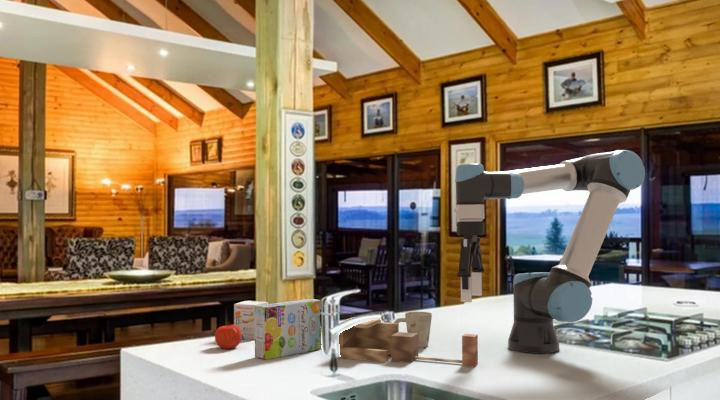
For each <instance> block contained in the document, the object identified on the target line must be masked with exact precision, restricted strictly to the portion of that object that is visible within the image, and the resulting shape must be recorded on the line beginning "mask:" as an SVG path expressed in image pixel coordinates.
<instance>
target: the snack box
mask: <svg viewBox="0 0 720 400" xmlns="http://www.w3.org/2000/svg"><path fill="white" fill-rule="evenodd" d="M320 310H321V311H322V300H320V299H315V298H309V299H308V298H307V299H300V300H292V301H291V300H290V301H283V302H276V303H268V304H266V305H258V306H255V307H254V312H255V340H254V357H257V359H260V358H261V359H262V360H264V359H268V360H272V359H271V358H273V359H277V358H282V357H287V356H293V355H297V354H303V353H309V352H314V351H319V350H322V349H321V345H322V346H323V343H322V344H321V332H322V327H321V328H320ZM261 359H260V360H261Z"/></svg>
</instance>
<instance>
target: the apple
mask: <svg viewBox="0 0 720 400" xmlns="http://www.w3.org/2000/svg"><path fill="white" fill-rule="evenodd" d="M241 337H242V333H241V330H240V328H239V327H238V326H237V325H234V324H230V321H228V322H227V325H222V326H219V327H218V328H217V329H216V330H215V334H214V340H215V343H216V345H217V346H218V347H219V348H221V349H224V350H229V349H231V350H232V349H235V348H237V347H238V346H239V345H240V343H241V341H242V339H241Z"/></svg>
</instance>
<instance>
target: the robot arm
mask: <svg viewBox="0 0 720 400" xmlns="http://www.w3.org/2000/svg"><path fill="white" fill-rule="evenodd" d="M642 160H643V159H641V157H640V156H639V155H638V154H637V153H635V151H632V150H628V149H616V150H614V151H607V152H600V153H592V154H588V155H584V156H582V157H577V158H572V159H568V160H563V161H560V163H559V164H555V165H546V166H538V167H537V166H536V167H531V168H522V169H513V170H504V171H485V169H484V165H483V164H481V163H462V164H458V165H457V166H456V169H455V180H454V181H455V196H456V197H455V201H456V208H454V209H453V211H454V212H456V220H458V221H457V222H456V235H458V236H463V238H461V239H460V250H459V251H460V252H459V263H458V272H457V273H456V276H457V278H460V302H461V303H472V302H473V301H472V300H473V299H472V297H473V296H474V297H475V296H477V297H478V296H479V297H482V296H483V286H482V285H483V282H482V281H483V278H482V275H483V273H485V267H484V265H483V257H482V248H481V237H478V236H483V235H485V222H484V219H485V200H502V199H503V200H505V199H507V200H511V199H518V198H520V197H521V196H522V195H524V194H533V193H540V192H546V191H547V192H548V191H554V190H555V191H556V190H563V191H565V192H570V191H571V192H572V191H588V192H589V195H588V197H587V199H586V201H585V204H584V207H583V208H582V211H581V213H580V215H579V217H578V220H577V222H576V225H575V227H574V229H573V232H572V234H571V236H570V238H569V241H568V242H567V246H566V248H565V250H564V252H563V255H562V257H561V259H560V262H559V264H557V265H555V266H552V267H551V269H550V271H549V272H544V271H543V272H524V273H517V274H516V275H514V277H513V283H512V289H513V290H512V291H513V323H512V327H511V329H510V333H509V337H508V339H507V340H508V341H507V348H508V349H509V350H513V351H515V352H516V351H517V352H523V353H532V354H547V353H548V354H549V353H556V352H558V351H560V341H559V338H558V335H557V332H556V328H555V326H554V320H555V321H557V322H561V323H575V322H578V321H580V320H582V319H584V318H585V317H586V316H587V315H588V314H589V313H590V311H591V309H592V305H593V297H592V291H591V289H590V288H591V286H592V282H591V280H590V278H589V275H590V274H591V271H592V268H593V266H594V263H595V262H596V259H597V257H598V254H599V252H600V249H601V247H602V245H603V242H604V239H605V238H606V236H607V233H608V231H609V228H610V225H611V223H612V221H613V218H614V217H615V213H616V211H617V209H618V206H619V204H622V203H624V202H626V201H627V199H628V196H629V195H630V193H631V190H636V189H637V188H640V187H641V186H642V184H643V183H644V181H645V177H646V171H645V170H646V169H645V166H644V163H643V161H642Z"/></svg>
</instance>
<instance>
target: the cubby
mask: <svg viewBox="0 0 720 400" xmlns="http://www.w3.org/2000/svg"><path fill="white" fill-rule="evenodd" d="M352 318H355V317H354V316H353V317H349V318H346V319H345V320H349V319H352ZM376 319H377V320H371V321H368V322H365V323H361V324H358V325H356V326H353V327H352V328H350V329H348V330H345V331H343V332H342V333H340V335H339V344H340V355H341V358H340V359H344V358H345V359H346V360H356V361H357V360H358V361H368V362H369V361H370V362H378V363H387V362H388V361H389V356H391V335H393V334H395V333H397V332H400V330H399V327H400V326H399V325H400V322H399V323H394V322H383V321H382V319H381V318H376ZM380 319H381V320H380ZM345 320H343V321H345Z"/></svg>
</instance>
